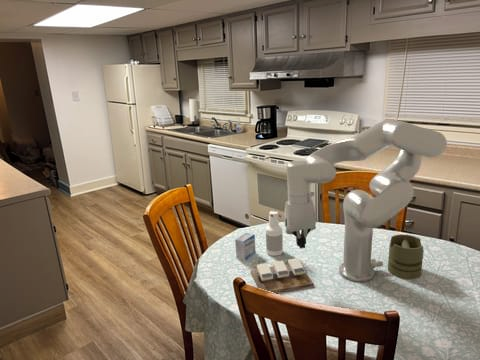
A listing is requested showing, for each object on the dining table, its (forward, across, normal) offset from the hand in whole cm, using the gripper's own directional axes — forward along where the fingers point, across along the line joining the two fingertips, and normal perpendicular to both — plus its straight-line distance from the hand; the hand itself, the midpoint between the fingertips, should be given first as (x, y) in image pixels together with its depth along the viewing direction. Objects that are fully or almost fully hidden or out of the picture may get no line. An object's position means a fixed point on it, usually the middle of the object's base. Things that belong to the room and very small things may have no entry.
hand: (301, 246), depth 129 cm
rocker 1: (+9, +13, -3) cm, 16 cm away
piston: (+15, -38, +5) cm, 41 cm away
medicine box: (+13, +15, -24) cm, 31 cm away
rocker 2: (+9, +1, -3) cm, 10 cm away
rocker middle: (+9, +7, -3) cm, 12 cm away
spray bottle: (+14, +3, -23) cm, 27 cm away
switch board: (+13, +7, -3) cm, 15 cm away
